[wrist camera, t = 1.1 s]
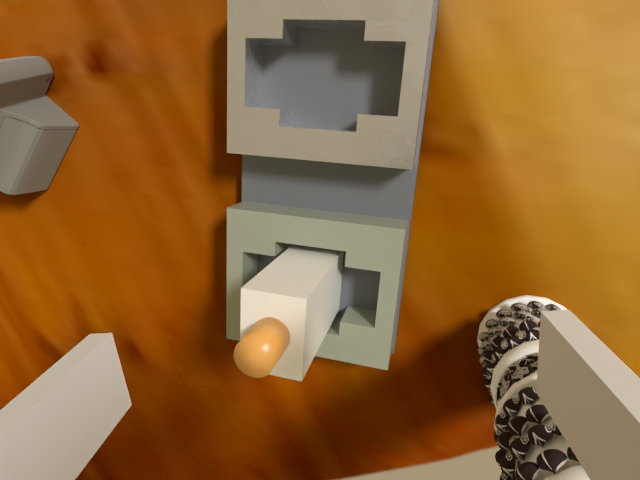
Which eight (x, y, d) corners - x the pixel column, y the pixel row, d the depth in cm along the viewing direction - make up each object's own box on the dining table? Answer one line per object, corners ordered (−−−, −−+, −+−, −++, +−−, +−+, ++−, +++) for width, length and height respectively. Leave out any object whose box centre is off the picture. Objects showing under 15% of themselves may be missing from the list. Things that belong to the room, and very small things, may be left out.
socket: (247, -4, 35) (227, -18, 31) (435, -4, 31) (435, -19, 28) (244, 150, 38) (226, 152, 35) (414, 165, 35) (412, 169, 31)
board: (251, -3, 36) (244, -8, 35) (439, -3, 33) (439, -9, 31) (246, 318, 44) (239, 324, 43) (395, 345, 41) (393, 353, 39)
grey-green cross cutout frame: (244, 201, 39) (226, 207, 36) (407, 220, 36) (405, 229, 33) (242, 322, 43) (226, 338, 40) (391, 350, 39) (387, 370, 36)
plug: (296, 241, 39) (219, 306, 25) (344, 248, 38) (291, 319, 24) (293, 301, 41) (219, 393, 27) (339, 309, 40) (287, 409, 26)
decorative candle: (458, 365, 40) (491, 706, 16) (493, 276, 37) (596, 537, 14) (559, 400, 38) (756, 834, 15) (605, 311, 35) (939, 674, 12)
